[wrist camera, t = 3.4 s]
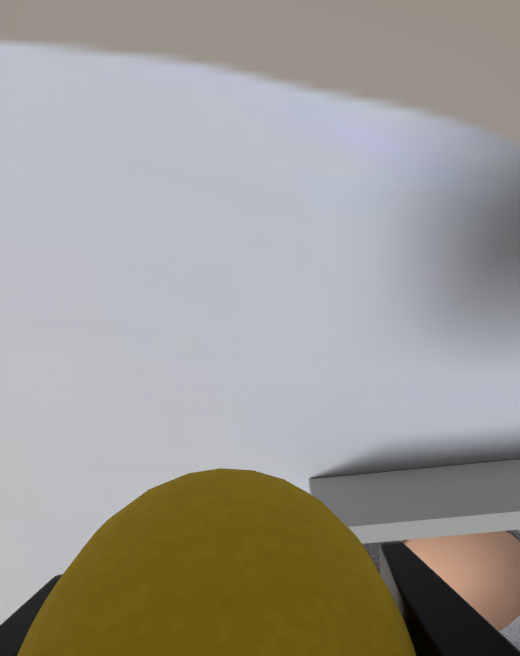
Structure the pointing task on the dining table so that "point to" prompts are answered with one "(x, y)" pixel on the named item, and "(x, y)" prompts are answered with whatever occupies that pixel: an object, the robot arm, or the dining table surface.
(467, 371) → the dining table surface
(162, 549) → the lemon
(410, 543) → the corral
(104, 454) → the dining table surface
